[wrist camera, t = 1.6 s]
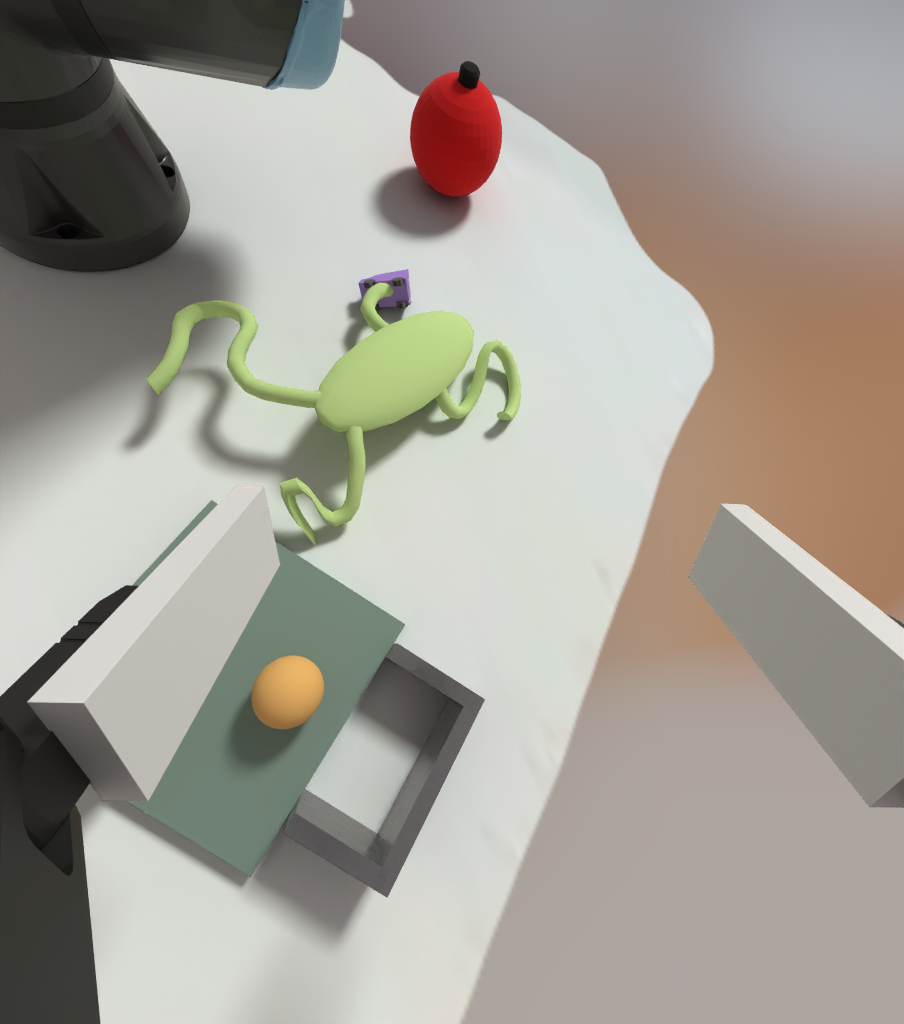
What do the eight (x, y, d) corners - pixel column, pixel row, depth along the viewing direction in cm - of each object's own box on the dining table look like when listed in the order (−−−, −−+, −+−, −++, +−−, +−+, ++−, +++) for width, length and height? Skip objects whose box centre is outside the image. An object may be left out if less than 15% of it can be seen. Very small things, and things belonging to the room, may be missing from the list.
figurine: (145, 375, 31) (104, 322, 26) (423, 265, 41) (433, 210, 36) (278, 570, 29) (262, 555, 24) (537, 407, 39) (566, 371, 34)
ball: (245, 700, 25) (226, 710, 22) (287, 642, 27) (276, 642, 23) (299, 735, 25) (291, 751, 22) (338, 675, 27) (336, 680, 23)
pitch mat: (16, 722, 23) (2, 725, 22) (216, 504, 29) (211, 500, 28) (254, 868, 24) (250, 876, 23) (403, 625, 30) (405, 624, 29)
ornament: (489, 224, 44) (526, 113, 35) (406, 209, 42) (421, 87, 33) (482, 165, 47) (514, 47, 37) (403, 148, 45) (417, 18, 35)
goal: (293, 804, 25) (282, 833, 21) (392, 643, 29) (398, 643, 26) (381, 860, 25) (387, 897, 22) (467, 692, 29) (484, 699, 26)
